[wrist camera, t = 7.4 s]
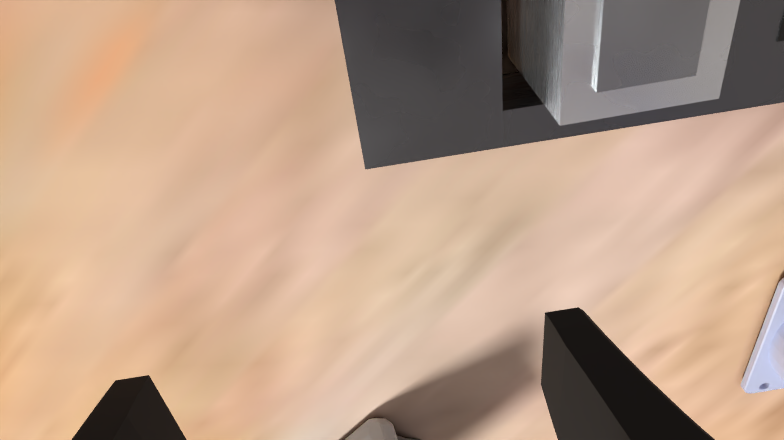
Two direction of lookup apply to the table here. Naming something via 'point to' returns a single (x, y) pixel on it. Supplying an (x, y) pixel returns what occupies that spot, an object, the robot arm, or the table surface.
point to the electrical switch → (376, 431)
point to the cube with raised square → (620, 53)
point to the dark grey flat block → (501, 79)
